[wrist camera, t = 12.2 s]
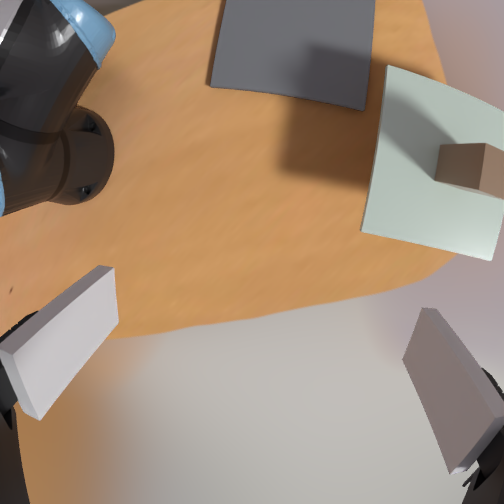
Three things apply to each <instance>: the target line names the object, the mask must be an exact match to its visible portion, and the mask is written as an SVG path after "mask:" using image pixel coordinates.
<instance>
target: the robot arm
mask: <svg viewBox="0 0 504 504" xmlns="http://www.w3.org/2000/svg"><path fill="white" fill-rule="evenodd" d="M115 37H116V33H115V29H114V27H113V26H112V24H111V23H110V22H109V21H108V20H107V19H106V18H105V17H104V16H102V15H101V14H100V13H99V12H98V11H96V10H95V9H94V8H93V7H91V6H90V5H89V4H87V3H86V2H84V1H83V0H0V217H2V216H5V215H7V214H10V213H13V212H16V211H18V210H21V209H24V208H27V207H30V206H33V205H36V204H39V203H42V202H45V201H49V202H54V203H59V204H64V205H76V204H79V203H83V202H86V201H88V200H90V199H92V198H94V197H95V196H96V195H97V194H99V193H100V191H101V190H102V189H103V188H104V186H105V185H106V183H107V181H108V179H109V177H110V174H111V171H112V168H113V163H114V143H113V138H112V135H111V132H110V129H109V127H108V125H107V124H106V122H105V121H104V120H103V119H102V118H101V117H100V116H99V115H98V114H97V113H95V112H93V111H90V110H87V109H79V108H75V106H76V104H77V103H78V101H79V99H80V97H81V96H82V94H83V92H84V91H85V89H86V87H87V86H88V84H89V82H90V81H91V79H92V77H93V76H94V74H95V73H96V71H97V70H99V69H100V68H101V63H102V61H103V59H104V58H105V56H106V54H107V53H108V51H109V50H110V48H111V47H112V45H113V43H114V41H115ZM118 323H119V320H118V311H117V301H116V289H115V276H114V268H113V267H107V266H102V265H99V266H97V267H96V268H94V269H93V270H92V271H90V272H89V273H88V274H86V275H85V276H84V277H82V278H81V279H80V280H78V281H77V282H76V283H74V284H73V285H72V286H70V287H69V288H68V289H66V290H65V291H64V292H63V293H61V294H60V295H59V296H57V297H56V298H55V299H54V300H52V301H51V302H50V303H48V304H47V305H46V306H45V307H43V308H42V309H41V310H40V311H36V312H34V313H31V314H29V315H27V316H25V317H24V318H23V319H22V320H20V321H19V322H18V324H16V325H14V326H13V327H12V328H11V330H8V331H7V332H6V333H5V334H3V335H2V336H1V337H0V504H30V502H29V498H28V493H27V489H26V484H25V479H24V474H23V468H22V462H21V455H20V448H19V440H18V432H17V421H16V412H15V409H14V407H13V405H14V404H15V403H16V402H17V401H18V402H19V404H20V406H21V407H22V410H23V411H24V412H25V413H26V414H28V415H30V416H32V417H34V418H36V419H38V420H41V419H42V417H43V416H44V415H45V413H46V412H47V411H48V410H49V408H50V406H52V404H53V403H54V402H55V400H56V399H57V398H58V396H59V395H60V394H61V393H62V391H63V390H64V389H65V388H66V386H67V385H68V384H69V383H70V381H71V380H72V379H73V377H74V376H75V375H76V374H77V372H78V371H79V370H80V369H81V368H82V366H83V365H84V364H85V363H86V361H87V360H88V359H89V357H90V356H91V355H92V354H93V353H94V352H95V350H96V349H97V348H98V347H99V346H100V344H101V343H102V342H103V341H104V340H105V338H106V337H107V336H108V335H109V334H110V332H111V331H112V330H113V329H114V328H115V327H116V325H117V324H118ZM402 360H403V362H404V364H405V367H406V368H407V371H408V373H409V375H410V378H411V380H412V382H413V384H414V386H415V389H416V391H417V393H418V395H419V397H420V400H421V403H422V405H423V407H424V409H425V412H426V415H427V417H428V419H429V422H430V424H431V427H432V429H433V432H434V434H435V437H436V439H437V442H438V445H439V447H440V450H441V452H442V455H443V458H444V460H445V463H446V466H447V468H448V472H449V474H455V473H459V472H464V471H467V470H468V469H469V468H470V467H471V465H472V464H473V463H474V462H475V461H476V460H477V462H478V464H479V468H477V470H476V471H475V472H474V473H473V474H472V475H471V476H470V477H469V478H468V479H467V480H466V481H465V482H464V484H463V485H462V486H463V487H465V486H466V485H467V484H468V483H469V482H471V483H470V485H469V487H468V490H467V493H466V495H465V498H464V500H463V502H462V504H504V393H502V390H501V388H500V387H499V386H498V384H497V382H496V381H495V379H494V378H493V377H492V375H490V374H489V373H488V372H487V371H486V370H484V369H483V368H481V367H480V366H479V364H478V363H477V361H476V360H475V359H474V357H473V356H472V355H471V353H470V352H469V351H468V349H467V348H466V346H465V345H464V344H463V342H462V341H461V340H460V338H459V337H458V336H457V335H456V333H455V332H454V331H453V329H452V328H451V327H450V325H449V324H448V323H447V322H446V320H445V319H444V318H443V317H442V315H441V314H440V313H439V311H438V310H437V309H432V308H422V309H421V312H420V315H419V318H418V321H417V323H416V326H415V329H414V331H413V334H412V337H411V340H410V342H409V344H408V347H407V349H406V352H405V354H404V357H403V359H402Z"/></svg>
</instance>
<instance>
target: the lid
mask: <svg viewBox="0 0 504 504" xmlns="http://www.w3.org/2000/svg"><path fill="white" fill-rule="evenodd" d="M503 214H504V112H503V111H501V110H499V109H498V108H496V107H494V106H492V105H490V104H488V103H485V102H484V101H481V100H479V99H477V98H475V97H473V96H471V95H469V94H466V93H464V92H462V91H459V90H457V89H454V88H452V87H450V86H447V85H445V84H442V83H440V82H437V81H435V80H432V79H429V78H427V77H424V76H421V75H418V74H415V73H412V72H409V71H406V70H403V69H400V68H397V67H394V66H391V65H387V66H386V69H385V79H384V89H383V97H382V106H381V113H380V121H379V128H378V135H377V141H376V148H375V154H374V160H373V166H372V171H371V177H370V182H369V188H368V193H367V198H366V203H365V208H364V212H363V217H362V222H361V226H360V231H361V232H364V233H369V234H374V235H379V236H384V237H388V238H393V239H398V240H402V241H407V242H412V243H416V244H421V245H425V246H430V247H434V248H438V249H443V250H447V251H451V252H456V253H460V254H464V255H468V256H472V257H477V258H480V259H485V260H489V261H491V260H492V258H493V254H494V250H495V246H496V243H497V239H498V236H499V231H500V227H501V223H502V219H503Z"/></svg>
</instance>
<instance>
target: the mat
mask: <svg viewBox="0 0 504 504" xmlns="http://www.w3.org/2000/svg"><path fill="white" fill-rule="evenodd" d="M374 13H375V0H226V5H225V9H224V14H223V19H222V24H221V29H220V34H219V39H218V44H217V50H216V55H215V60H214V66H213V72H212V78H211V83H210V87H212V88H224V89H235V90H245V91H254V92H262V93H269V94H277V95H283V96H290V97H296V98H302V99H308V100H313V101H318V102H323V103H328V104H333V105H338V106H342V107H347V108H351V109H356V110H360V111H364V110H365V103H366V96H367V88H368V80H369V71H370V61H371V51H372V40H373V28H374Z"/></svg>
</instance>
